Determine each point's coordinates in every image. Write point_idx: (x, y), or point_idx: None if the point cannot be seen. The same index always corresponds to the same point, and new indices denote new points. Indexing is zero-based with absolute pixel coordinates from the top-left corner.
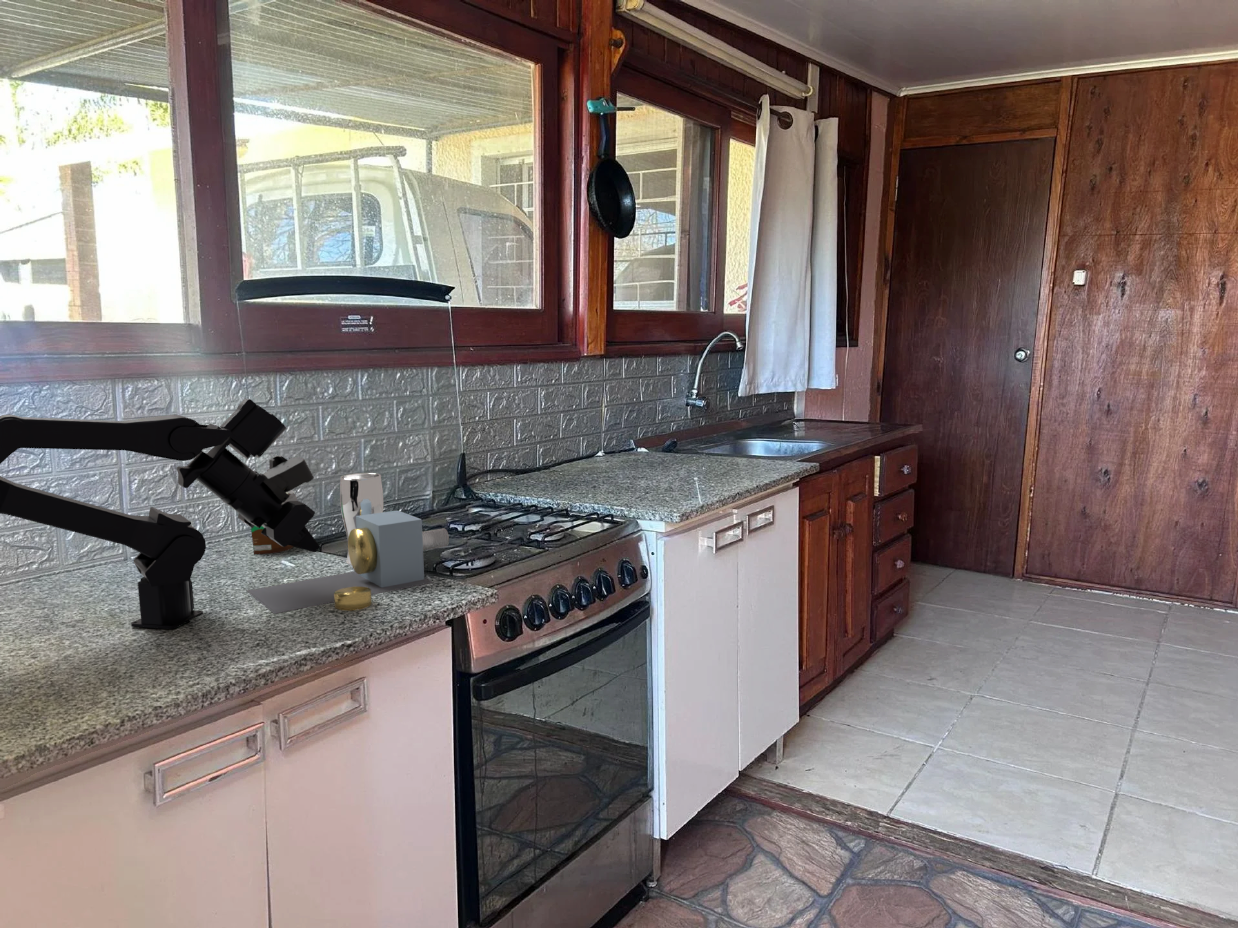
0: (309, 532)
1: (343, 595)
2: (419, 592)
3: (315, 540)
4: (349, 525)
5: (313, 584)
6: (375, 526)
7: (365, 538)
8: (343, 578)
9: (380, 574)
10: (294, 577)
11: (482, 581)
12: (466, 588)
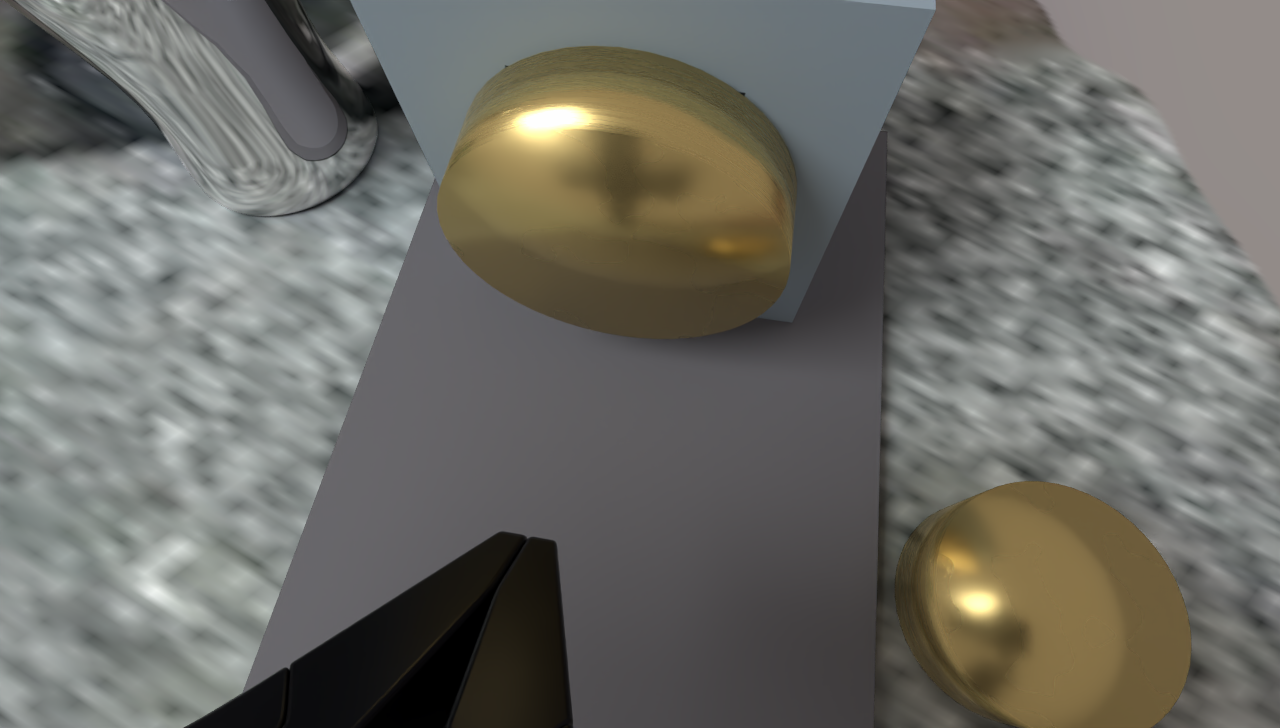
0: (568, 708)
1: (1114, 700)
2: (952, 236)
3: (559, 593)
4: (112, 12)
5: (433, 545)
6: (838, 22)
7: (754, 171)
8: (474, 364)
9: (799, 285)
10: (157, 518)
11: (969, 8)
12: (1026, 89)
